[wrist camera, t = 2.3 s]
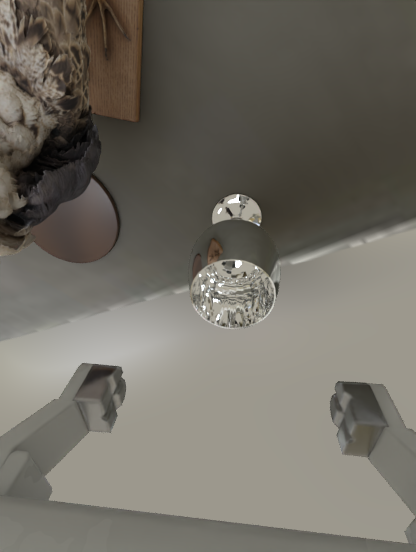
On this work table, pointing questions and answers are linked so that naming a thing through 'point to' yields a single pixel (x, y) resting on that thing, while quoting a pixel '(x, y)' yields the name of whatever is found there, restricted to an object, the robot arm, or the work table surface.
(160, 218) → the work table surface
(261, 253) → the wineglass
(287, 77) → the work table surface
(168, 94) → the work table surface
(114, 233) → the coaster
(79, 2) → the stuffed bird
